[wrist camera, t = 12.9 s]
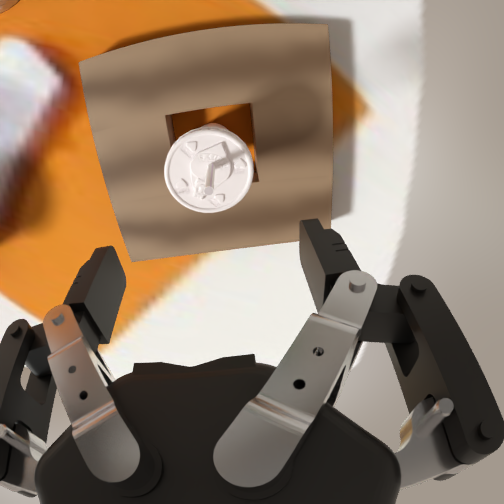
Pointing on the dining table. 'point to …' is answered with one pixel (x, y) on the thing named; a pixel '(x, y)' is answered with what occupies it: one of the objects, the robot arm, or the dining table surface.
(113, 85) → the socket board
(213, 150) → the smoothie
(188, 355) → the dining table surface
